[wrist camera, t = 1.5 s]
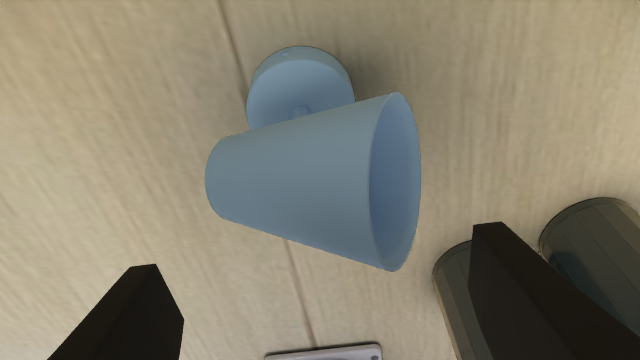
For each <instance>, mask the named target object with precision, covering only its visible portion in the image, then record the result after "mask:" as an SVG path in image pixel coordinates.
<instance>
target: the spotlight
mask: <svg viewBox="0 0 640 360" xmlns="http://www.w3.org/2000/svg"><path fill="white" fill-rule="evenodd" d="M246 115H247V120H248V124H249V127H250V129H251V130H250V131H246V132H243V133H239V134H235V135H231V136H228V137H225V138H223V139H222V140H220V141H219V142H218V143H217V144H216V145H215V147H214V148H213V149H212V151H211V153H210V155H209V158H208V161H207V165H206V170H205V188H206V193H207V197H208V200H209V202H210V204H211V206H212V208H213V210H214V211H215V212H216V213H217V214H218V215H219V216H220V217H222V218H223V219H226V220H229V221H232V222H235V223H238V224H242V225H245V226H248V227H251V228H254V229H257V230H260V231H264V232H267V233H270V234H273V235H276V236H279V237H283V238H286V239H289V240H292V241H295V242H298V243H301V244H305V245H308V246H311V247H314V248H317V249H320V250H324V251H327V252H330V253H333V254H336V255H339V256H343V257H346V258H349V259H352V260H355V261H358V262H361V263H365V264H368V265H371V266H374V267H377V268H380V269H384V270H387V271H390V272H394V271H397V270H398V269H399V268H401V266H402V265H403V264H404V262H405V261H406V259H407V257H408V255H409V252H410V250H411V247H412V244H413V240H414V236H415V232H416V227H417V222H418V215H419V207H420V196H421V155H420V145H419V137H418V131H417V126H416V122H415V118H414V115H413V112H412V109H411V107H410V104H409V103H408V101H407V99H406V98H405V97H404V96H403V95H402V94H401V93H399V92H393V93H389V94H385V95H382V96H378V97H374V98H370V99H367V100H363V101H359V102H356V101H355V96H354V92H353V88H352V84H351V81H350V78H349V76H348V74H347V72H346V70H345V69H344V67H343V66H342V65H341V64H340V62H339V61H338V60H336V59H335V58H334V57H333V56H331V55H330V54H328V53H326V52H324V51H322V50H319V49H316V48H313V47H306V46H295V47H289V48H285V49H282V50H280V51H278V52H276V53H274V54H272V55H271V56H269V57H268V58H267V59H266V60H265V61H264V62H263V63H262V64H261V65H260V66H259V67H258V69H257V71H256V72H255V74H254V77H253V79H252V83H251V86H250V90H249V94H248V98H247V104H246Z"/></svg>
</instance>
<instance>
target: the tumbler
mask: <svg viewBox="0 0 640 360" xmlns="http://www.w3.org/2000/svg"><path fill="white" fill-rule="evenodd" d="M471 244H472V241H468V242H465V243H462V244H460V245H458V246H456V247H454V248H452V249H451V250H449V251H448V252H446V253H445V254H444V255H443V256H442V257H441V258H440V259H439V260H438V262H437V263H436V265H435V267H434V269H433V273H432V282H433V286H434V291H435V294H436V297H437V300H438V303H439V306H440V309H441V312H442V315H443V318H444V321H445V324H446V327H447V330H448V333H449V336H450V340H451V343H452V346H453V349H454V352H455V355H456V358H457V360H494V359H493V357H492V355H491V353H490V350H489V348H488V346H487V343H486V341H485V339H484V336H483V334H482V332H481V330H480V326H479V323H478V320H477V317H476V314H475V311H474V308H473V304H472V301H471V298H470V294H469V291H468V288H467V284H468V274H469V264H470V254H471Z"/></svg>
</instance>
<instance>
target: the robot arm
mask: <svg viewBox="0 0 640 360" xmlns="http://www.w3.org/2000/svg"><path fill="white" fill-rule="evenodd" d="M467 288H468V291H469V294H470V298H471V301H472V304H473V308H474V311H475V314H476V317H477V320H478V323H479V326H480V330H481V332H482V334H483V336H484V339H485V341H486V343H487V346H488V348H489V350H490V353H491V355H492V357H493V359H494V360H640V336H638V335H637V334H636V333H634V332H633V331H632V330H630V329H629V328H628V327H626V326H625V325H624V324H622V323H621V322H620V321H619V320H617V319H616V318H615V317H613V316H612V315H611V314H609V313H608V312H607V311H606V310H604V309H603V308H602V307H601V306H599V305H598V304H597V303H595V302H594V301H593V300H592V299H591V298H589V297H588V296H587V295H586V294H585V293H583V292H582V291H581V290H580V289H578V288H577V287H576V286H575V285H574V284H572V283H571V282H570V281H569V280H568V279H566V278H565V277H564V276H563V275H562V274H560V273H559V272H558V271H557V270H556V269H555V268H554V267H552V266H551V265H550V264H549V263H548V262H547V261H546V260H544V259H543V258H542V257H541V256H540V255H539V254H538V253H536V252H535V251H534V250H533V249H532V248H531V247H530V246H529V245H528V244H526V243H525V242H524V241H523V240H522V239H521V238H520V237H519V236H518V235H516V234H515V233H514V232H513V231H512V230H511V229H510V228H509V227H507V226H506V225H505V224H504V223H503V222H493V223H485V224H477V225H473V234H472V244H471V254H470V264H469V274H468V284H467ZM183 325H184V318H183V316H182V314H181V312H180V310H179V308H178V306H177V304H176V302H175V300H174V298H173V296H172V294H171V292H170V290H169V289H168V287H167V285H166V283H165V281H164V279H163V277H162V275H161V273H160V271H159V269H158V267H157V265H156V264H149V265H141V266H133V267H130V268H129V269H128V270H127V271H126V272H125V273H124V274H123V275H122V276H121V277H120V278H119V279H118V281H117V282H116V283H115V284H114V285H113V286H112V287H111V288H110V290H109V291H108V292H107V293H106V294H105V295H104V296H103V298H102V299H101V300H100V301H99V302H98V303H97V305H96V306H95V307H94V308H93V309H92V310H91V311H90V313H89V314H88V315H87V316H86V317H85V318H84V319H83V320H82V322H81V323H80V324H79V325H78V326H77V327H76V328H75V329H74V331H73V332H72V333H71V334H70V335H69V336H68V337H67V338H66V340H65V341H64V342H63V343H62V344H61V345H60V346H59V347H58V348H57V350H56V351H55V352H54V353H53V354H52V355H51V356H50V357H49V358H48V359H47V360H179V355H180V348H181V341H182V333H183ZM264 360H382V353H381V348H380V346H379V345H376V344H370V345H361V346H352V347H343V348H334V349H325V350H316V351H307V352H298V353H289V354H280V355H271V356H267V357H265V358H264Z"/></svg>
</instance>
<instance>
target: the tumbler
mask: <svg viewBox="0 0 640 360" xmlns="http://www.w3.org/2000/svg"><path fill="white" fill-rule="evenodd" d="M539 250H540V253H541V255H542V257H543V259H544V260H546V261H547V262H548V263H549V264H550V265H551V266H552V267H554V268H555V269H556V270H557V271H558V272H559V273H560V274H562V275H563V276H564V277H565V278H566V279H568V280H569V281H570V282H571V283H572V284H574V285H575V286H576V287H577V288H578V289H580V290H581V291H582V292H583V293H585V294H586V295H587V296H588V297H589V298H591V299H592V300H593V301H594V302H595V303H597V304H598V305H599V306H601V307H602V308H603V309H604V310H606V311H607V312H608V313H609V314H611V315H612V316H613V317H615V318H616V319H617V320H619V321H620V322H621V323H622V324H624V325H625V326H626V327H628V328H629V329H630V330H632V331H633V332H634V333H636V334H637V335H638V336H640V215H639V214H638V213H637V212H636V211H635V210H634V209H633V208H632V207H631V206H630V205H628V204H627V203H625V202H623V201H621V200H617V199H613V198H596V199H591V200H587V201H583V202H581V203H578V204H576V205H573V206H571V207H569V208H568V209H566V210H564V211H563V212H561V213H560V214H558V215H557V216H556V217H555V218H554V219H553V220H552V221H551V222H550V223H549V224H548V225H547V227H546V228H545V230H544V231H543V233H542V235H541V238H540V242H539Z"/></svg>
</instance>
